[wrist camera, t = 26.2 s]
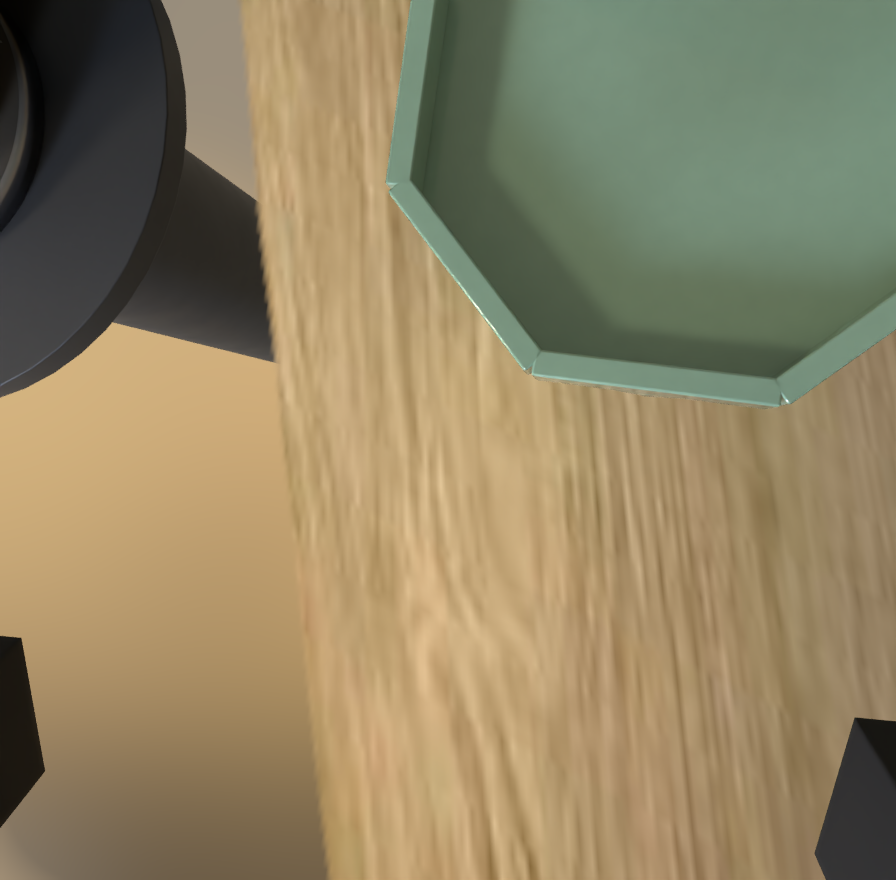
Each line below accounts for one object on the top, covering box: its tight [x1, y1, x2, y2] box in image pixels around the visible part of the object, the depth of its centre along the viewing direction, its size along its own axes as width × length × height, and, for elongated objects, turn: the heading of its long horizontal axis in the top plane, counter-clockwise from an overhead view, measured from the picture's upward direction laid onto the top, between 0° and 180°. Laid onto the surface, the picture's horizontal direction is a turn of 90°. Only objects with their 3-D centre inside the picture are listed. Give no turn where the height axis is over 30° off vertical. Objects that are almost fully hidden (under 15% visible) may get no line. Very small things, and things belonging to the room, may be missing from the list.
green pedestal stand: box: [386, 0, 896, 409], centre depth 22 cm, size 13×13×13 cm
